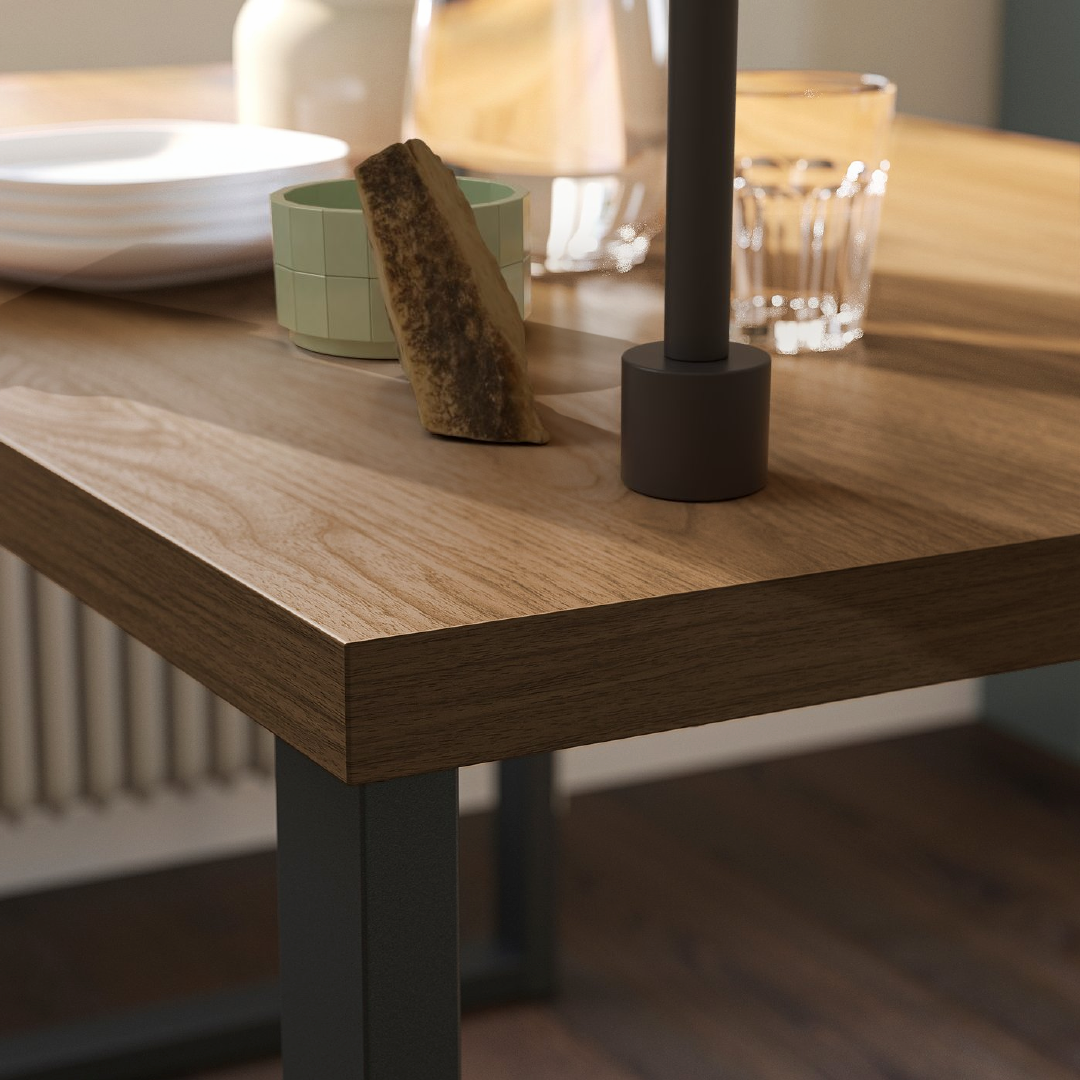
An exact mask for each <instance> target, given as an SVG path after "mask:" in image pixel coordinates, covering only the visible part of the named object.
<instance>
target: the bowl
mask: <svg viewBox="0 0 1080 1080" xmlns="http://www.w3.org/2000/svg"><path fill="white" fill-rule="evenodd" d="M455 177H456V180H457V185H458V187H459V188H460V189H461V190H462V191H463V193H464V195H465V197H466V199H467V200H468V202H469V203H470V206H471V208H472V210H473V213H474V216H475V220H476V225H477V228H478V230H479V232H480V235H481V237H482V239H483V241H484V242H485V244H486V246H487V248H488V249H489V251H490V252H491V253H492V255H493V256H494V257H496V260H497V262H498V265H499V268H500V272H501V273H502V275H503V277H504V279H505V281H506V283H507V287H508V289H509V291H510V292H511V294H512V295H513V297H514V299H515V301H516V303H517V306H518V309H519V312H520V315H521V317H522V320H523V323H524V322H525V321H526V320H527V318H528V317H529V316H530V315H531V313H532V254H531V250H532V241H531V240H532V237H531V234H532V233H531V223H532V222H531V191H530V190H529V189H528V188H526V187H525V186H524V185H522V184H518V183H514V182H510V181H506V180H501V179H492V178H483V177H474V176H461V175H460V176H459V175H455ZM268 201H269V203H268V204H269V218H270V234H271V235H270V237H271V250H272V251H271V252H272V269H273V270H272V271H273V284H274V285H273V286H274V287H273V288H274V305H275V316H276V321H277V325H279V326H280V327H283V328H285V329H287V330H288V334H289V339H290V340H291V342H292V343H293V344H294V345H296V346H298V347H300V348H303V349H305V350H308V351H311V352H315V353H319V354H324V355H330V356H337V357H344V358H354V359H367V360H369V359H371V360H399V358H398V355H397V351H396V347H395V344H396V340H395V337H394V335H393V333H392V332H391V330H390V327H389V322H388V319H387V315H386V311H385V305H384V301H383V295H382V291H381V287H380V283H379V279H378V274H377V271H376V268H375V261H374V257H373V255H372V253H371V249H370V243H369V239H368V234H367V229H366V225H365V220H364V216H363V213H362V204H361V200H360V198H359V195H358V190H357V185H356V180H355V177H354V176H353V177H346V178H345V177H342V178H334V179H324V180H317V181H309V182H304V183H297V184H295V185H290V186H285V187H281V188H280V189H277V190H276V191H273V192H272V193H269V194H268Z"/></svg>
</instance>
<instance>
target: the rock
mask: <svg viewBox="0 0 1080 1080" xmlns="http://www.w3.org/2000/svg"><path fill="white" fill-rule="evenodd" d="M455 176H456V175H455V172H454V170H453V169H452V168H449V167H447V166H446V165H445V163H443V160H442V157H441V156H440V155H438V154H435V153H434V152H433V151H432V149H431V148H430V146H429V145H427V143H426V142H425V141H424V140H422V139H420V138H409V139H407V140H406V141H405V142H404V143H403V142H395V143H392V144H390V145H388V146H387V147H385V148H383V149H382V150H381V151H380V152H377V153H375V154H374V153H373V154H372V155H369V157H367V158H366V159H365V160H363V161H362V162H361V163H359V164H358V165H356V166H354V167H353V178H354V177H355V180H356V185H357V190H358V195H359V198H360V200H361V204H362V213H363V216H364V220H365V225H366V229H367V234H368V239H369V243H370V249H371V253H372V255H373V257H374V261H375V268H376V271H377V274H378V279H379V283H380V287H381V291H382V295H383V301H384V305H385V311H386V315H387V319H388V322H389V327H390V330H391V332H392V333H393V335H394V337H395V340H396V344H395V347H396V351H397V355H398V358H399V359H398V362H399V364H400V367H401V370H402V372H403V374H404V376H405V377H406V379H407V381H408V382H409V384H410V386H411V389H412V391H413V393H414V396H415V399H416V405H417V408H416V409H417V410H418V417H419V422H420V427H421V428H422V429H423V430H425V431H427V432H428V433H430V434H436V435H437V434H438V435H443V436H447V437H457V438H461V439H462V438H467V439H471V440H473V441H483V442H493V443H517V444H518V443H523V442H526V443H527V442H528V443H534V444H539V445H543V444H546V443H549V441H550V440H551V433H550V432H549V431H548V430H547V429H545V428H544V427H543V425H542V423H541V421H540V419H539V414H538V413H537V412H538V409H537V407H536V401H535V394H534V386H533V382H532V380H531V378H530V377H529V374H528V367H529V366H528V365H529V362H528V358H527V356H526V355H527V354H526V347H525V346H526V332H525V324H524V322H523V320H522V317H521V315H520V312H519V309H518V306H517V303H516V301H515V299H514V297H513V295H512V294H511V292H510V291H509V289H508V287H507V283H506V281H505V279H504V277H503V275H502V273H501V272H500V268H499V265H498V262H497V260H496V257H494V256H493V255H492V253H491V252H490V251H489V249H488V248H487V246H486V244H485V242H484V241H483V239H482V237H481V235H480V232H479V230H478V228H477V225H476V220H475V216H474V213H473V210H472V208H471V206H470V203H469V202H468V200H467V199H466V197H465V195H464V193H463V191H462V190H461V189H460V188H459V187H458V185H457V180H456V177H455Z"/></svg>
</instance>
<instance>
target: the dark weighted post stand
mask: <svg viewBox="0 0 1080 1080" xmlns="http://www.w3.org/2000/svg"><path fill="white" fill-rule="evenodd" d="M739 2H740V1H739V0H668V29H667V30H668V31H667V32H668V33H667V35H668V36H667V38H668V39H667V97H666V98H667V101H666V104H667V105H666V113H667V114H666V161H665V163H666V165H665V168H666V170H665V173H666V174H665V175H666V176H665V232H664V234H665V237H664V239H665V243H664V297H663V298H664V303H663V304H664V306H663V310H664V311H663V340H657V341H652V342H646V343H642V344H638V345H635V346H633V347H630V348H628V349H626V350H624V352H623V353H622V355H621V358H620V366H621V367H620V480H621V482H622V483H623V485H625V487H626V488H628V489H630V490H632V491H634V492H636V493H639V494H642V495H645V496H650V497H653V498H657V499H658V498H659V499H664V500H671V501H680V502H681V501H682V502H712V501H723V500H730V499H731V500H732V499H736V498H740V497H745V496H747V495H748V496H749V495H751V494H754V493H756V492H758V491H760V490H761V489H762V488H763V487H765V485H766V484H767V481H768V473H769V445H770V444H769V443H770V441H769V440H770V414H771V390H772V389H771V388H772V387H771V386H772V385H771V384H772V360H773V359H772V356H771V354H770V353H769V352H767V351H766V350H764V349H762V348H760V347H757V346H754V345H751V344H747V343H741V342H736V341H731V340H730V335H731V334H730V332H731V331H730V329H731V294H732V260H733V259H732V258H733V256H732V255H733V225H734V224H733V223H734V222H733V221H734V219H733V218H734V189H735V188H734V184H735V183H734V182H735V151H736V150H735V147H736V146H735V145H736V111H737V76H738V75H737V74H738V72H737V71H738V37H739V36H738V35H739V5H740V4H739Z"/></svg>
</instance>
